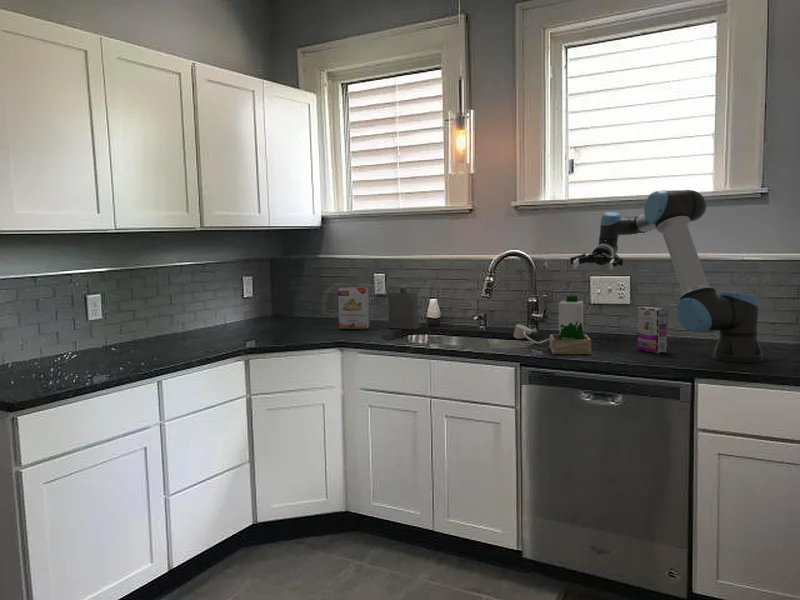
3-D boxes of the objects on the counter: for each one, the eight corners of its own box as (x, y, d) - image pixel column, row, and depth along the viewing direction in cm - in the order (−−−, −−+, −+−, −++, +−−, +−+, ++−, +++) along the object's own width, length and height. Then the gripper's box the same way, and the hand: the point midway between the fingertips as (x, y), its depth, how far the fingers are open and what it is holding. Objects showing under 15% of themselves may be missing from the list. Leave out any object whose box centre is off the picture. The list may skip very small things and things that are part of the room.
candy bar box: (668, 352, 249) (668, 308, 247) (657, 354, 247) (657, 309, 246) (646, 348, 259) (647, 305, 258) (636, 349, 258) (636, 306, 256)
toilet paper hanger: (539, 342, 276) (505, 327, 285) (535, 353, 277) (502, 338, 286) (559, 335, 292) (527, 321, 301) (556, 346, 294) (524, 331, 302)
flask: (420, 327, 331) (419, 287, 329) (416, 329, 326) (415, 288, 323) (392, 327, 336) (390, 287, 334) (387, 329, 331) (386, 288, 329)
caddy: (591, 354, 250) (591, 340, 249) (552, 354, 252) (552, 340, 251) (586, 348, 264) (586, 334, 263) (549, 348, 266) (549, 334, 265)
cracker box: (339, 330, 330) (337, 288, 328) (342, 328, 336) (340, 287, 334) (367, 330, 328) (365, 287, 326) (369, 328, 334) (368, 286, 332)
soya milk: (585, 347, 260) (584, 295, 258) (580, 351, 252) (580, 298, 250) (562, 346, 264) (561, 295, 261) (556, 350, 255) (556, 297, 253)
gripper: (634, 264, 273) (625, 276, 255) (572, 262, 285) (559, 274, 266) (634, 245, 271) (625, 257, 253) (572, 244, 283) (559, 255, 264)
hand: (592, 265), depth 260 cm, fingers open, 13 cm apart
